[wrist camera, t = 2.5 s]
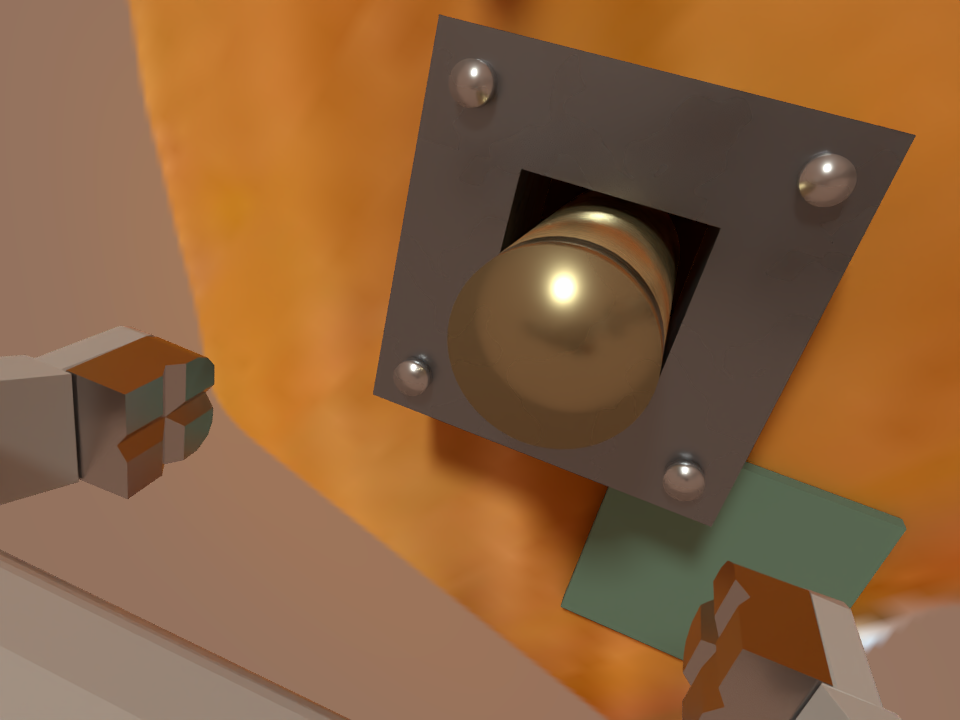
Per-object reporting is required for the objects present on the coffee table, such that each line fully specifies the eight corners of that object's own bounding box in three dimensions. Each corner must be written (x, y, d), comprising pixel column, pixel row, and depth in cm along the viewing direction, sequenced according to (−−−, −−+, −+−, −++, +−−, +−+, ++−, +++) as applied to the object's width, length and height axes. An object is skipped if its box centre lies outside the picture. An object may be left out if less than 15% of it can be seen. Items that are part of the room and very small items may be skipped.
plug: (701, 208, 21) (697, 288, 12) (652, 335, 23) (618, 479, 14) (566, 169, 22) (472, 216, 13) (530, 294, 24) (429, 405, 15)
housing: (866, 126, 19) (922, 136, 14) (710, 448, 24) (711, 536, 19) (495, 32, 21) (431, 12, 16) (428, 345, 26) (366, 400, 21)
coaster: (902, 518, 23) (906, 529, 22) (780, 692, 27) (782, 703, 27) (635, 420, 25) (633, 427, 24) (563, 597, 29) (560, 606, 28)
